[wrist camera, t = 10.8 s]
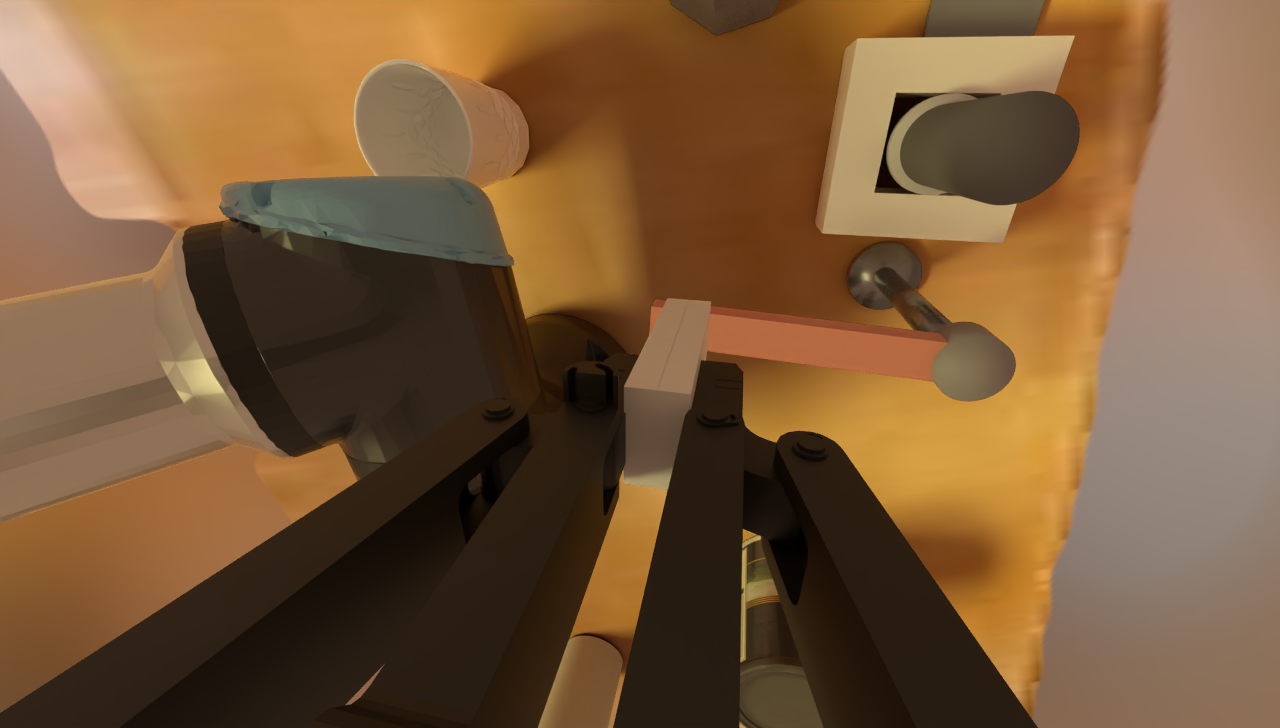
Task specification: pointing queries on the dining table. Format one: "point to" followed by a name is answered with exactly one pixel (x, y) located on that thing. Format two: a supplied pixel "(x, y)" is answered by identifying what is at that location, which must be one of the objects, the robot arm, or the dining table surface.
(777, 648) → the coffee can
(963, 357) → the pink grey-tipped stick
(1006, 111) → the plug
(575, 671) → the travel mug
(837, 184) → the socket block
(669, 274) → the dining table surface
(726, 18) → the coffeepot
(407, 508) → the robot arm
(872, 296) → the post
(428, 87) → the white cup
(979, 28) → the coaster
